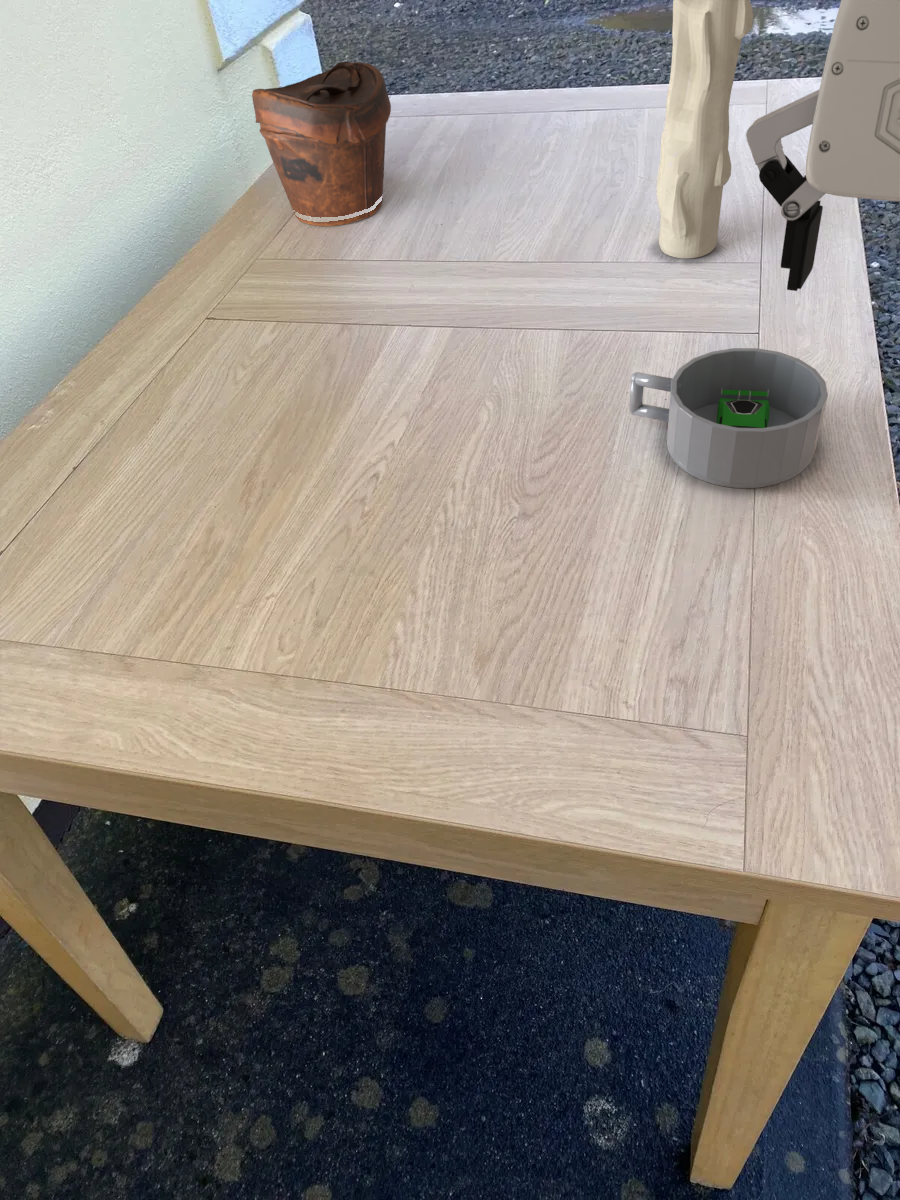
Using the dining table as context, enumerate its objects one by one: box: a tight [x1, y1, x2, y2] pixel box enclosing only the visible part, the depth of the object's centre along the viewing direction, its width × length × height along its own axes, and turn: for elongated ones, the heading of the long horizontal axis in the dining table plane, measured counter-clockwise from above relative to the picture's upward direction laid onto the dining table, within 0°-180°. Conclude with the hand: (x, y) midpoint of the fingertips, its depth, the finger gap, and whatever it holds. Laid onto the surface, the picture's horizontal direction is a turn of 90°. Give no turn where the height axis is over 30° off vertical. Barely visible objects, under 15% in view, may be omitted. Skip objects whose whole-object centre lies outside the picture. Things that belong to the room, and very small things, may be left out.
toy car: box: [715, 389, 770, 428], centre depth 82 cm, size 10×5×2 cm, turn 166°
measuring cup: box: [629, 347, 828, 489], centre depth 82 cm, size 17×13×6 cm
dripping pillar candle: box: [656, 0, 754, 259], centre depth 101 cm, size 9×8×30 cm
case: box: [251, 61, 392, 227], centre depth 125 cm, size 18×20×18 cm
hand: (887, 290), depth 51 cm, fingers open, 9 cm apart
